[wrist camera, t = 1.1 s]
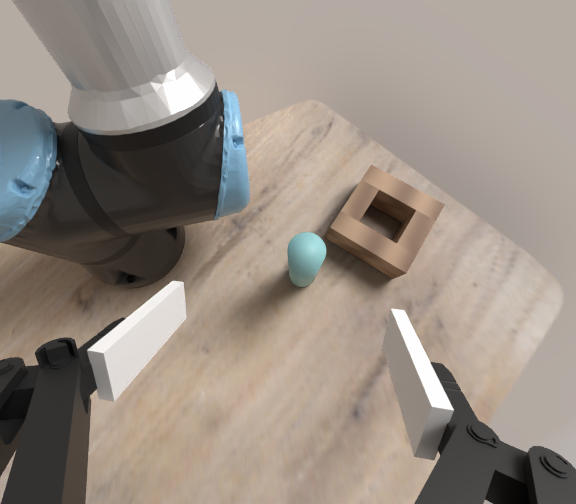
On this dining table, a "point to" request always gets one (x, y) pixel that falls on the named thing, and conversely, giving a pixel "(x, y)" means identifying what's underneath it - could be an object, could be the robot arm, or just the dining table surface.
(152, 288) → the dining table surface
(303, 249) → the dowel
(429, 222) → the socket block
